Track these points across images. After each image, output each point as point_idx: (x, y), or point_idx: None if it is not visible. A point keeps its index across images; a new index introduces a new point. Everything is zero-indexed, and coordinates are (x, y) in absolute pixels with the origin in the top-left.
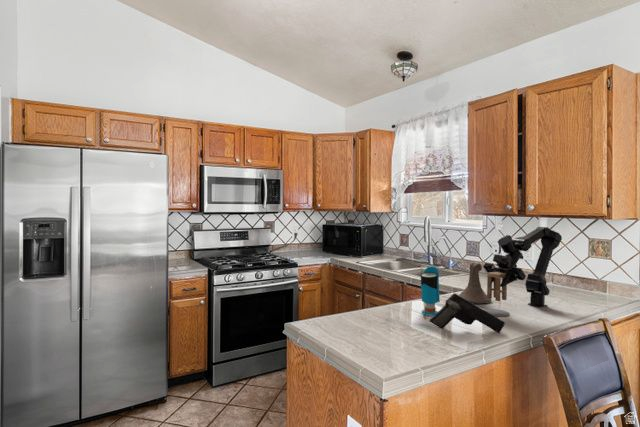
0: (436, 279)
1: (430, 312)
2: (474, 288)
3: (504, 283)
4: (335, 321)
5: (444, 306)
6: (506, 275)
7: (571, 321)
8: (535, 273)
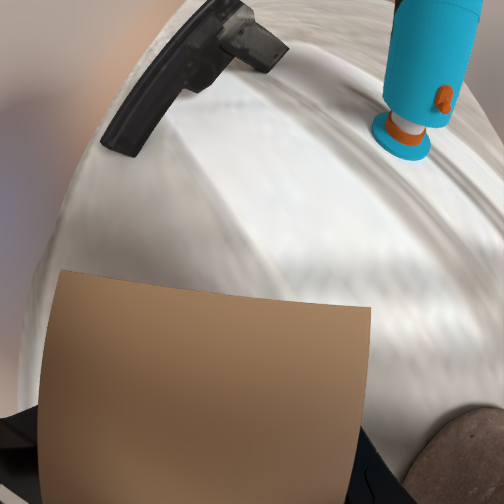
0: (399, 4)
1: (386, 118)
2: (491, 484)
3: None
4: (387, 16)
5: (254, 22)
6: (28, 440)
7: None
8: None
